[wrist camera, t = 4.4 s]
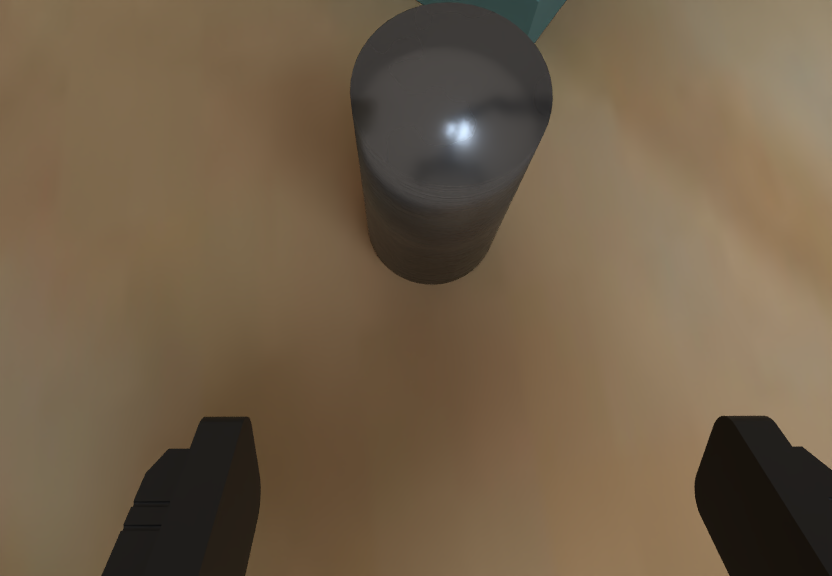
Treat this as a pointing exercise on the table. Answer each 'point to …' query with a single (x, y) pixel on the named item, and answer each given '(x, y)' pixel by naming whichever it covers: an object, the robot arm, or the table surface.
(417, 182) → the dark grey cylinder
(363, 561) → the table surface
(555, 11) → the jig
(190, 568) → the robot arm
